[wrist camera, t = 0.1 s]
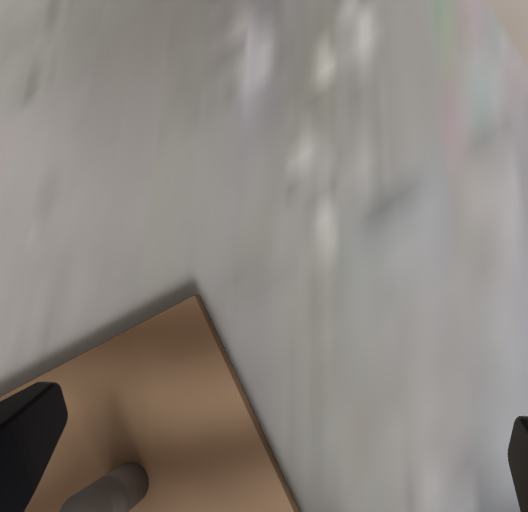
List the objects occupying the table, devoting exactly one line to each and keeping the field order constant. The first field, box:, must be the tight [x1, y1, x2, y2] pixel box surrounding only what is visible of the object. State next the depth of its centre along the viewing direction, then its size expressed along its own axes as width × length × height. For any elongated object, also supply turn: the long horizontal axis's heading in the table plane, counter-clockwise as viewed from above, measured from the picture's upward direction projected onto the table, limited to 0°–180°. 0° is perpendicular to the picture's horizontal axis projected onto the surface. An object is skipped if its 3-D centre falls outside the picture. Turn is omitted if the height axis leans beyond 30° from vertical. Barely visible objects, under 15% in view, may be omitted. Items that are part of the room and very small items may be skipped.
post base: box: [0, 295, 300, 512], centre depth 21 cm, size 14×14×6 cm
